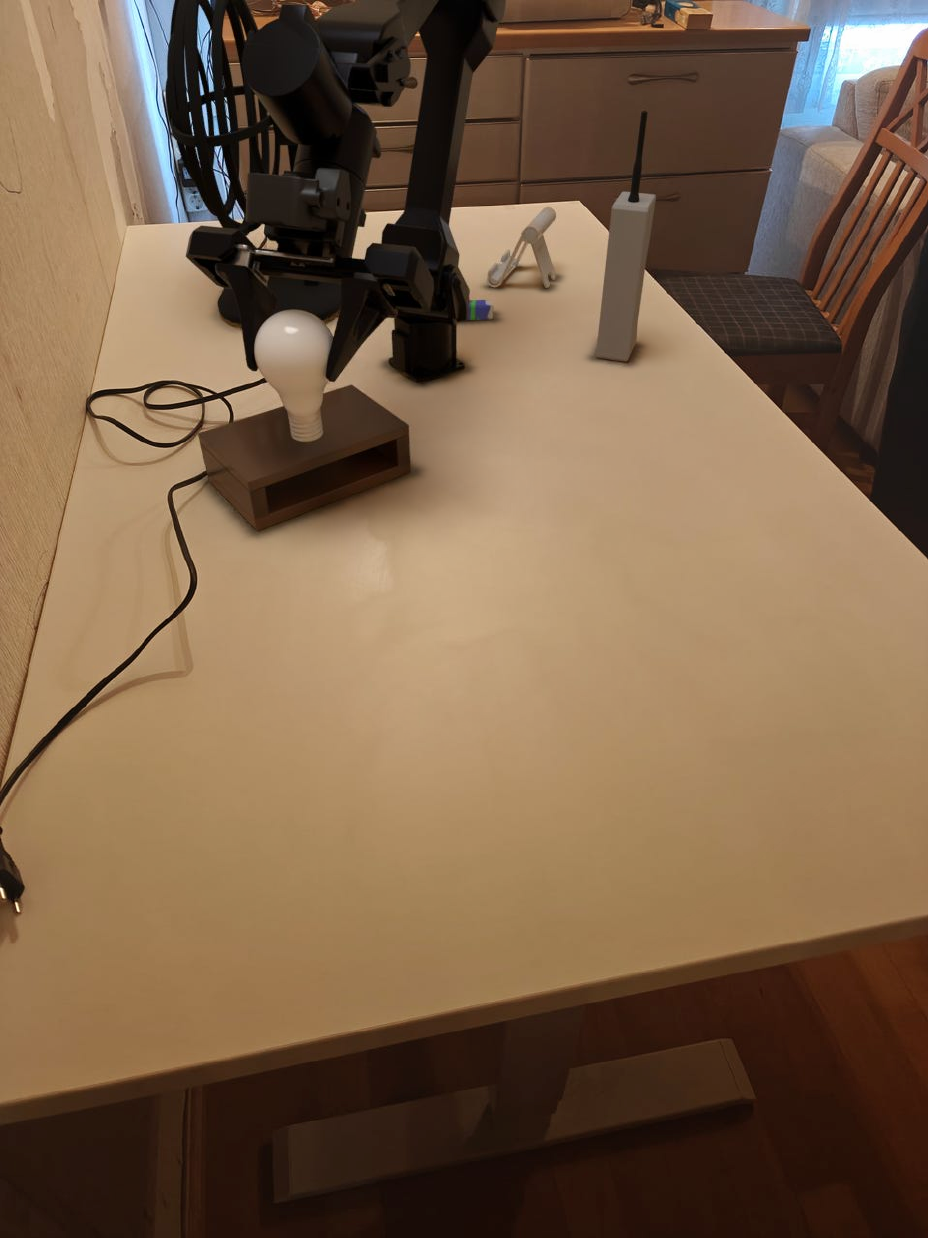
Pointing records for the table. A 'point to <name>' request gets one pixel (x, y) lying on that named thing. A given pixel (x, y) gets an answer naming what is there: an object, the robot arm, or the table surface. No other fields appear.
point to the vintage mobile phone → (625, 265)
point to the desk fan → (229, 138)
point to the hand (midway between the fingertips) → (290, 374)
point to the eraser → (480, 310)
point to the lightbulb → (296, 367)
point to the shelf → (305, 457)
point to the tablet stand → (529, 236)
